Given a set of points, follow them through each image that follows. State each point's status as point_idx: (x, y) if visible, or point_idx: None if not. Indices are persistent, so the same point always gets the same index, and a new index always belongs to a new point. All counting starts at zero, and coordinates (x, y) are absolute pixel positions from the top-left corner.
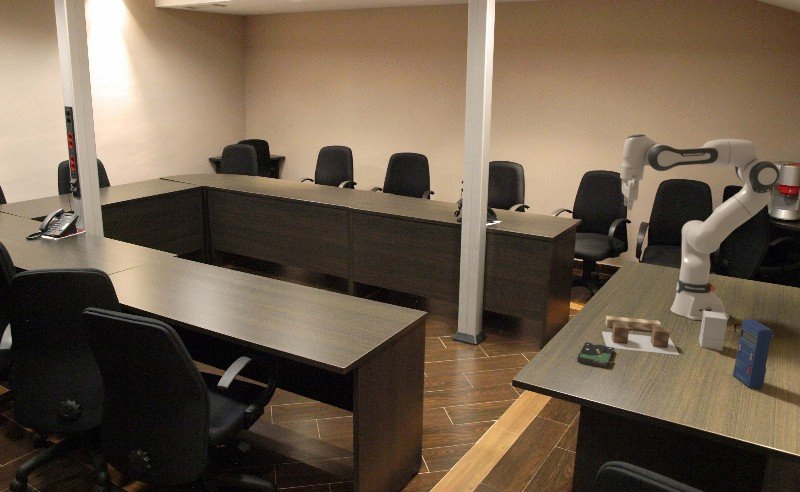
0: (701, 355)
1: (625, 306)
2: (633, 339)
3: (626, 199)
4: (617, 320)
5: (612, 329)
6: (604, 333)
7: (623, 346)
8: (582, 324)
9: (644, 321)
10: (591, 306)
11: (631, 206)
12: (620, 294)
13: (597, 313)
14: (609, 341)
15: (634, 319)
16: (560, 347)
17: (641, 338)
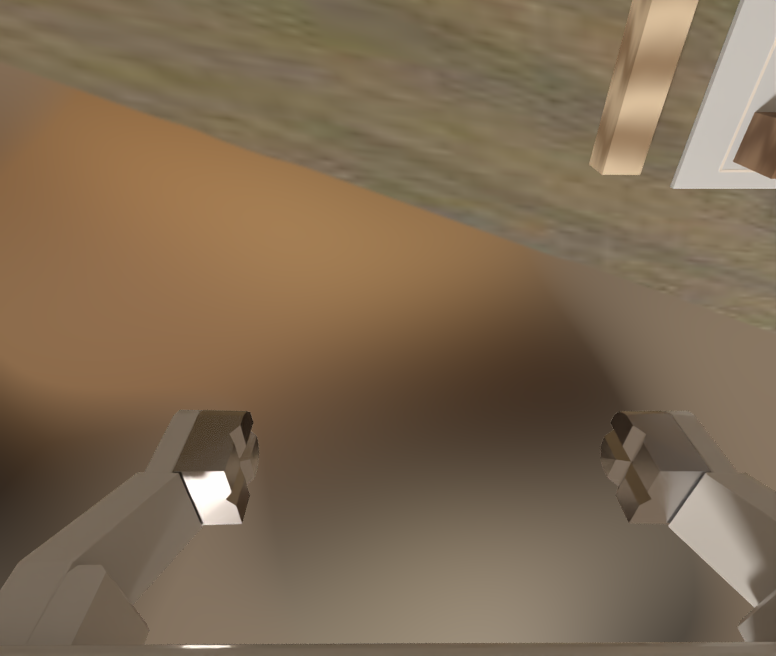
0: None
1: (357, 45)
2: (767, 80)
3: (153, 545)
4: (651, 136)
5: (752, 170)
6: (693, 181)
7: None
8: (590, 239)
9: (677, 10)
10: (399, 195)
11: (718, 471)
12: (179, 43)
13: (474, 180)
14: None
15: (648, 57)
16: (764, 304)
17: (763, 42)
